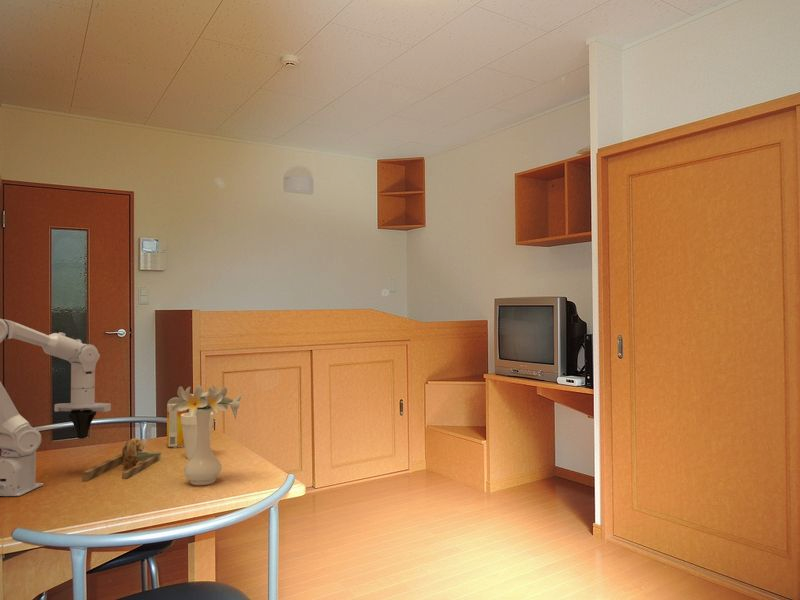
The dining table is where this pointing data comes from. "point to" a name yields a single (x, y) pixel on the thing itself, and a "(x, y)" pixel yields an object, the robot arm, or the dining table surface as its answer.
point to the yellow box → (174, 427)
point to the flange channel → (144, 456)
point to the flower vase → (203, 429)
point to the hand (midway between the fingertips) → (82, 437)
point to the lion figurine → (131, 452)
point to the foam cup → (192, 432)
